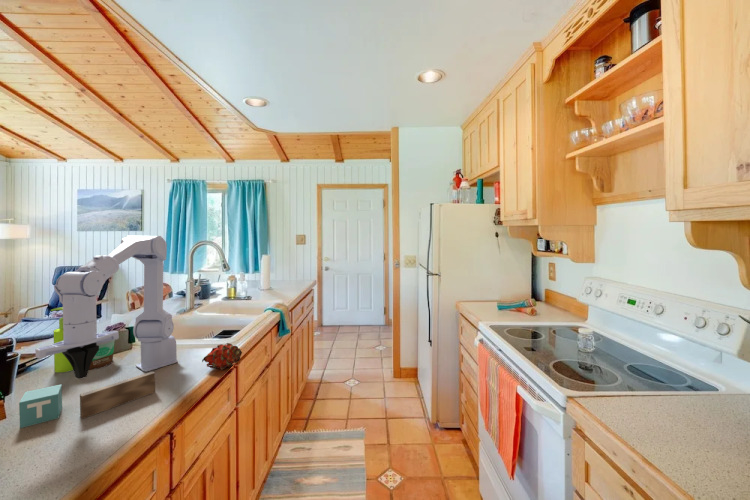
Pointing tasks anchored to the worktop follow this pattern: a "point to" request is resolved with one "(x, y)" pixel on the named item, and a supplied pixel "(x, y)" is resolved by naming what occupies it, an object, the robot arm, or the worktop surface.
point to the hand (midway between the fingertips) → (81, 376)
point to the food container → (103, 355)
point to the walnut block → (116, 394)
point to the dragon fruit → (223, 356)
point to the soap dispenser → (59, 359)
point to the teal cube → (40, 405)
